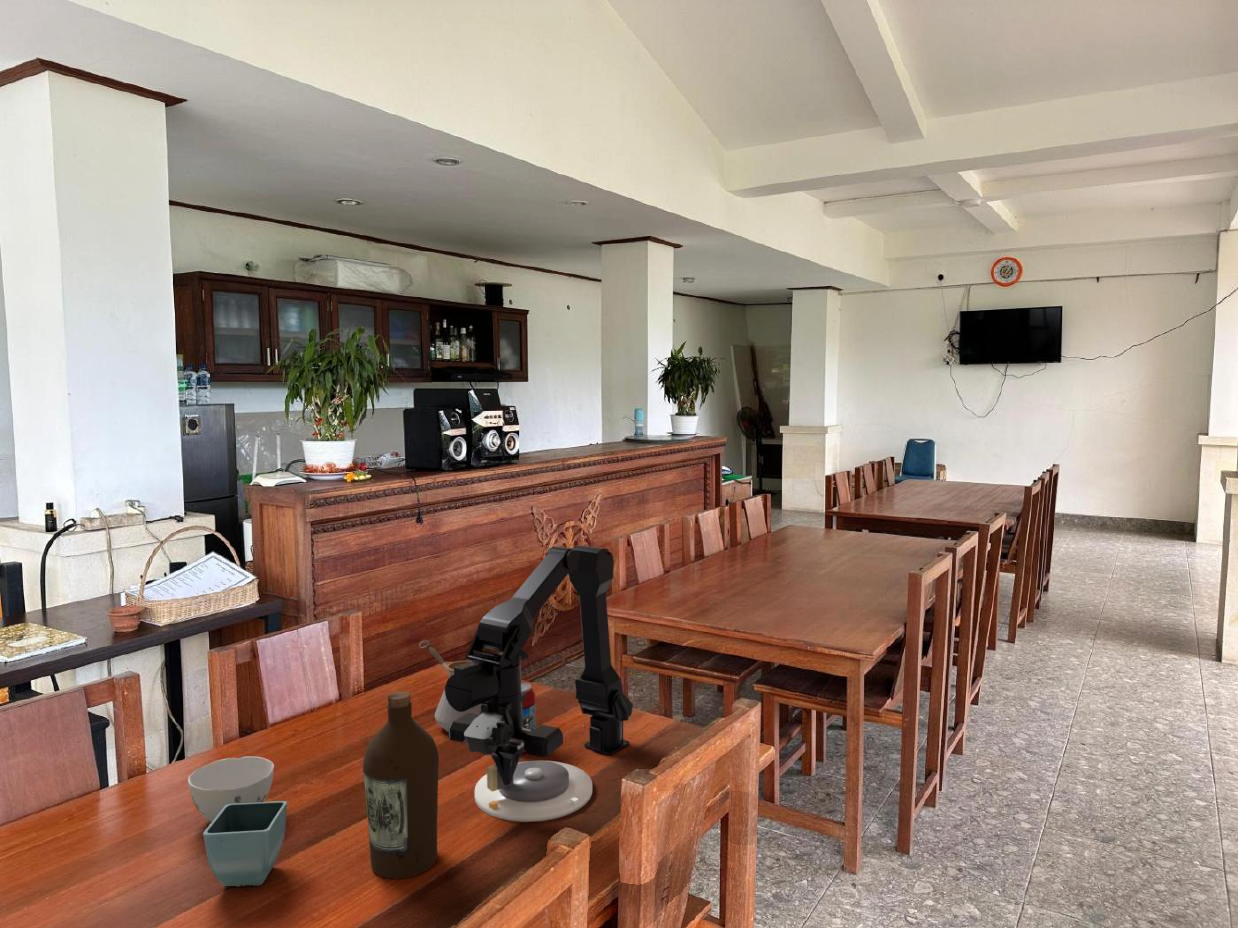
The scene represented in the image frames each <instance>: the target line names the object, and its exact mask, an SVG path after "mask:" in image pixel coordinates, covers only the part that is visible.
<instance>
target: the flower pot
mask: <svg viewBox="0 0 1238 928" xmlns="http://www.w3.org/2000/svg"><path fill="white" fill-rule="evenodd" d="M287 808H288V801H286V800H277V801H264V802H256V803H235V804H227V805H225V806H224V807H223V809H222V810H221V811H220V813H219V814H218V815H217V816H216V818H215V819H214V820H213V821H212V822H211V823H209V825H208V827H206V828H205V830H204V831H203V833H202V836H203V841H204V847H205V850H206V856H207V860H208V861H207V862H208V864H209V867H210V870H211V873H213V875H214V877H215V878H216V880H217V881H219V883H220V884H221V885H223V886H224V887H225V886H236V887H239V886H238V885H243V886H242V887H246V886H245V885H250V886H251V885H253V886H261V885H262V884H263V883H264V882H266V881H265V880H267V877H268V876H269V874H270V872H271V871H272V869H273V867H274V865H275V864H276V861H277V860H278V857H279V855H280V851H281V849H282V846H283V843H284V838H285V834H286V824H287V823H286V822H287ZM251 887H252V886H251Z"/></svg>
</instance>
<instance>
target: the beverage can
mask: <svg viewBox="0 0 1238 928" xmlns="http://www.w3.org/2000/svg"><path fill="white" fill-rule="evenodd" d="M521 693H524V694H526V700H525V701H523V702H522V717H523V718H527V724H526V725H525V726H523V729H529V730H531V731H533V730H534V729H535V728H537V727H536V726H537V724H536V723H537V722H536V694H535V691H534V690H533V688H532V685H531V684H530V683H527V682H522V681H521ZM523 753H527V752H526V751H525V749H524V751H523Z"/></svg>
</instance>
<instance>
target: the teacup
mask: <svg viewBox="0 0 1238 928" xmlns="http://www.w3.org/2000/svg"><path fill="white" fill-rule="evenodd" d="M274 768H275V765H274V763H273V761H271V760H270V759H267V758H265V757H260V756H249V755H248V756H245V755H243V756H242V757H238V758H237V757H229V758H228V757H227V758H223V759H218V760H215V761H213V762H211V763H209V764H206V765H204V766H202V767H200V768H198V769H195V770H194V771H193V772H192V773H191V774H189V776H188V778H187V785H188V791H189V794H190V797H191V799H192V802H193V804H194V806H195V808H196V810H197V811H198V812H199V814H201V816H203V818H205V819H207V821H210V822H211V823H212V821H213V820H214V819H215V818H216V816H217V815H218V814H219V813H220V811H221V810H222V809H223V807H224V806H225V805H227V804H235V803H256V802H266V799H267V797H268V795H269V793H270V789H271V786H272V783H273V778H274V770H275V769H274Z"/></svg>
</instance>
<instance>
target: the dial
mask: <svg viewBox="0 0 1238 928" xmlns="http://www.w3.org/2000/svg"><path fill="white" fill-rule="evenodd" d="M548 761H549V760H529V761H528V760H527V762H525V761H520V762H521V763H519V762H518V764H517V767H516V770H515V772H514V775H513V777H512V780H511V782H510V784H509V785H507V786H506V785H504V783H503V781H502V778H501V776H500V773H499V771H498V769H497V766H496V764H495V765H488V766H487V767H486V774H487V788H488V789H489V790H491V791H496V790H498V789H499V791H500V793H501V794H502V795H504V796H505V797H507V798H510V799H513V800H517V801H524V802H535V801H543V800H548V799H551V798H554V797H557V796H559V795H560V794H562V793H563V792H565V791H566V790H567V788H568V786H569V773H568V771H567V769H566V768H564V767H563V766H561V765H559V764H557V763H553V762H548Z"/></svg>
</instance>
